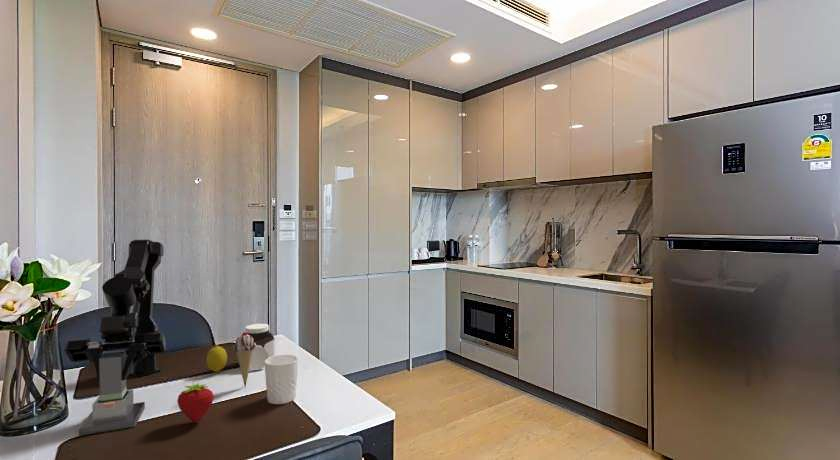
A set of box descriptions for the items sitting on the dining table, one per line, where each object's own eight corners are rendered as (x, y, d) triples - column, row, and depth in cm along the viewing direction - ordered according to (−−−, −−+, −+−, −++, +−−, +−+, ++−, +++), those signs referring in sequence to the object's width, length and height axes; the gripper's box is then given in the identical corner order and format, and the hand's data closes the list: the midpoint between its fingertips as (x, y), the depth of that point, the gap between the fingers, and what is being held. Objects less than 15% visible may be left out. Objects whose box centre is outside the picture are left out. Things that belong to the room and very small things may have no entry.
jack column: (105, 402, 97) (104, 353, 97) (126, 400, 99) (125, 351, 99) (99, 410, 94) (98, 358, 93) (122, 407, 95) (121, 356, 95)
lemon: (219, 376, 124) (218, 349, 123) (202, 375, 125) (202, 347, 124) (231, 370, 129) (231, 343, 129) (215, 368, 130) (214, 342, 130)
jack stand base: (94, 415, 99) (93, 391, 99) (144, 408, 103) (144, 385, 103) (78, 435, 90) (78, 409, 90) (135, 426, 94) (134, 401, 94)
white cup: (304, 394, 111) (303, 356, 111) (285, 407, 103) (284, 366, 103) (278, 390, 113) (278, 353, 113) (258, 403, 106) (257, 362, 106)
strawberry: (206, 429, 93) (205, 383, 92) (171, 429, 93) (170, 383, 92) (219, 416, 99) (218, 373, 98) (186, 416, 99) (186, 373, 98)
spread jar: (264, 356, 142) (263, 321, 141) (285, 363, 135) (285, 326, 135) (229, 366, 132) (229, 329, 132) (251, 374, 125) (250, 334, 125)
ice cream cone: (261, 385, 117) (260, 330, 117) (244, 393, 112) (244, 336, 111) (245, 382, 119) (245, 328, 119) (228, 389, 114) (228, 333, 114)
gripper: (66, 304, 96) (46, 369, 86) (163, 298, 103) (155, 358, 93) (79, 330, 103) (63, 393, 93) (168, 323, 110) (162, 381, 101)
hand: (111, 381), depth 95 cm, fingers closed on jack column, 4 cm apart
